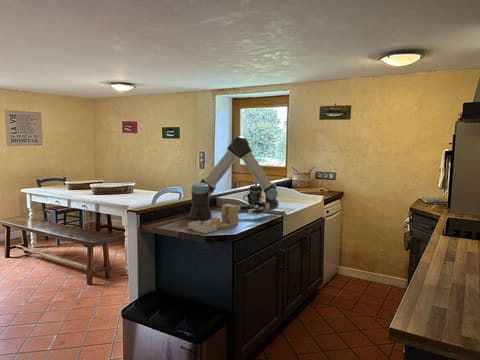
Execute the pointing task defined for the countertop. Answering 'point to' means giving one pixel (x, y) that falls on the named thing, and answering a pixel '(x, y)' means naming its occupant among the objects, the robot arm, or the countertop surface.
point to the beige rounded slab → (201, 227)
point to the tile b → (215, 222)
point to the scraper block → (229, 214)
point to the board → (221, 226)
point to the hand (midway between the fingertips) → (240, 210)
